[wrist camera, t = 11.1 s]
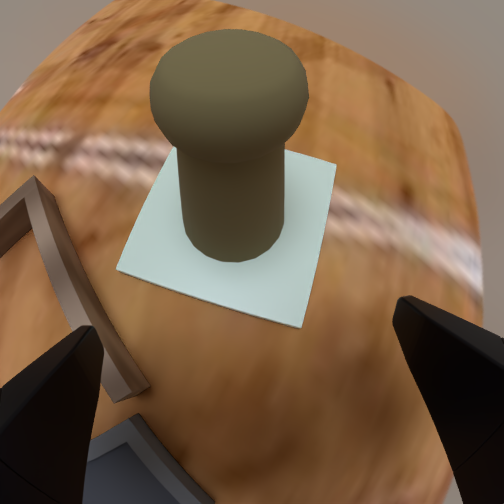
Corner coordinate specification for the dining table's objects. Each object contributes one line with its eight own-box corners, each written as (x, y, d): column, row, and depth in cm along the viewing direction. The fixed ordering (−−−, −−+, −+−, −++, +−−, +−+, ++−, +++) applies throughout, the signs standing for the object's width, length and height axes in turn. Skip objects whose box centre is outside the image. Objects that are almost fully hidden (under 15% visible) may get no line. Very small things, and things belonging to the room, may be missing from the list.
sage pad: (334, 169, 20) (336, 164, 19) (299, 328, 16) (301, 328, 15) (185, 132, 20) (184, 127, 20) (119, 271, 17) (115, 269, 16)
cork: (275, 167, 19) (302, 12, 8) (292, 256, 17) (361, 112, 6) (181, 177, 18) (141, 23, 8) (184, 268, 16) (107, 132, 6)
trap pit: (214, 501, 12) (212, 514, 11) (81, 548, 9) (72, 556, 8) (138, 413, 14) (128, 418, 12) (22, 476, 11) (10, 481, 9)
